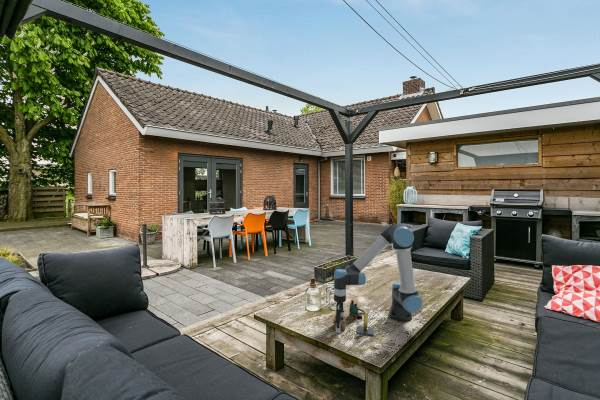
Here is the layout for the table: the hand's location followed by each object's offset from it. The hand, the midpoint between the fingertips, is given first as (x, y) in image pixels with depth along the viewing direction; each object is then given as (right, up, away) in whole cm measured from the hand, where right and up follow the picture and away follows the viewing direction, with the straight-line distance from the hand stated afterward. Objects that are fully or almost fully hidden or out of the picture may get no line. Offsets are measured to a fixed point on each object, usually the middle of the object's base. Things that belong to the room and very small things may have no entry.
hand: (339, 327), depth 192 cm
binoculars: (+14, +1, +16) cm, 21 cm away
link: (0, 0, 0) cm, 0 cm away
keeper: (+15, 0, -5) cm, 16 cm away
